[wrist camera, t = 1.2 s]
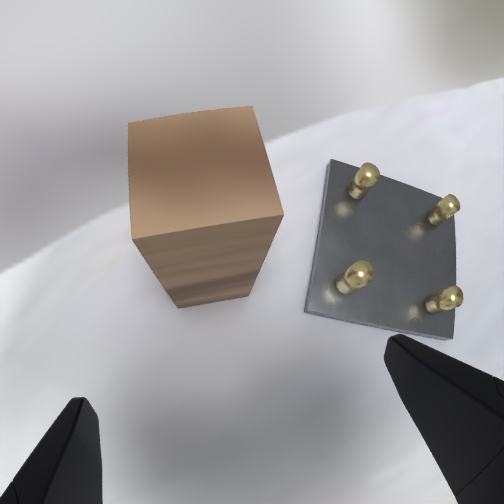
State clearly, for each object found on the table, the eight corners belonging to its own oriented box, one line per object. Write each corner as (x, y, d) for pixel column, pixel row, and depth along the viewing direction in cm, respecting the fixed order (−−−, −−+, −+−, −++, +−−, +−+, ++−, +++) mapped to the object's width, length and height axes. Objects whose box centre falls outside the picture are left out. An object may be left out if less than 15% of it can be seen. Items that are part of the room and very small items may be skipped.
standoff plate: (445, 340, 23) (476, 333, 19) (304, 312, 23) (321, 301, 19) (447, 207, 28) (470, 187, 24) (327, 165, 27) (342, 137, 24)
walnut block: (248, 296, 23) (283, 214, 11) (178, 308, 22) (131, 239, 10) (234, 231, 24) (252, 106, 12) (168, 242, 24) (128, 123, 11)
